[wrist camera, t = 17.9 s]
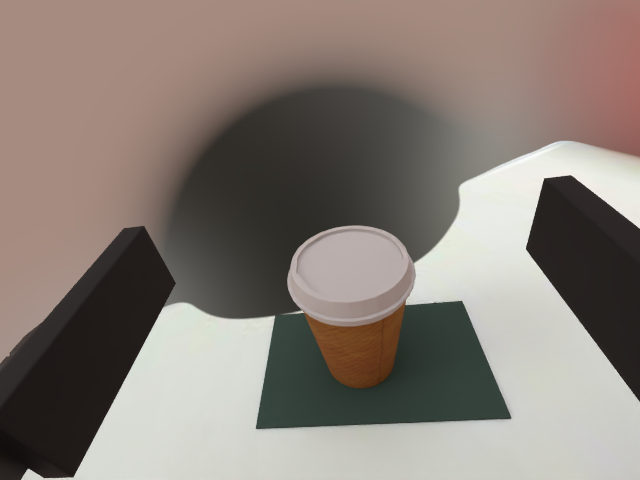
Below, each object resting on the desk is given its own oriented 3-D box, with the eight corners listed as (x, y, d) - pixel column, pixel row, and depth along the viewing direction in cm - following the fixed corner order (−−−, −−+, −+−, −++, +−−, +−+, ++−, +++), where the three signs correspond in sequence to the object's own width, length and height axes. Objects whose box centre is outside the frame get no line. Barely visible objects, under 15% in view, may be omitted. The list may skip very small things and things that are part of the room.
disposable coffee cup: (311, 322, 36) (289, 229, 29) (401, 313, 35) (401, 216, 28) (308, 411, 28) (277, 315, 21) (424, 403, 28) (432, 300, 20)
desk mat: (461, 302, 36) (462, 300, 35) (510, 418, 26) (511, 417, 26) (275, 316, 38) (275, 315, 38) (256, 428, 28) (255, 427, 28)
